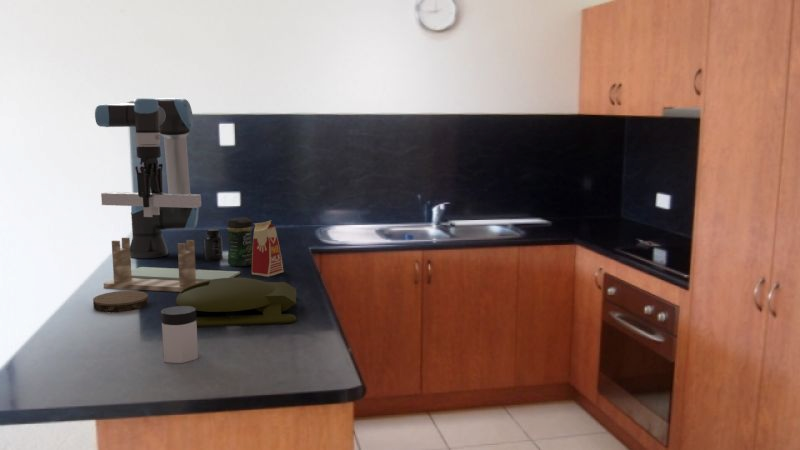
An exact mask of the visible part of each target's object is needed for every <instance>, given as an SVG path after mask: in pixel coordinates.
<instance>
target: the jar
mask: <svg viewBox="0 0 800 450" xmlns="http://www.w3.org/2000/svg"><path fill="white" fill-rule="evenodd" d="M196 318H197V311H196V309H195V308H194V307H191V306H179V305H176V306H170V307H167V308H163V309H162V310H161V311H160V319H161V321H160V322H161V333H162V355H163V362H164V363H167V364H168V363H171V364H172V363H173V364H185V363H188V362H191V361H195V360H198V359H199V350H198V346H199V345H198V327H197V322H196Z"/></svg>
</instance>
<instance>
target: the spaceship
mask: <svg viewBox="0 0 800 450" xmlns="http://www.w3.org/2000/svg"><path fill="white" fill-rule="evenodd" d="M199 282H200V283H197V284H194V285H192V286H190V287H188V288H186V289H184V290H183V291H182V292H179V293H178V295H177V296H176V299H175V303H176V305H177V306H191V307H194V308H195V309H196V312H197V311H199V312H209V313H210V312H213V313H222V312H223V313H224V312H225V313H226V312H227V313H228V312H240V311H249V310H254V309H255V310H256V311H257V312H260V313H262V314H250V315H249V314H248V315H219V316H218V315H217V316H214V315H213V316H198V317H197V316H196V322H197V328H198V327H200V328H202V327H203V328H205V327H206V328H207V327H230V326H231V327H232V326H233V327H234V326H235V327H236V326H258V325H259V326H261V325H284V324H285V325H286V323H289V324H293V323H294V322H296V320H297V316H296V315H295V314H292V313H282V312H285V311H287V310H289V309H291V307H293V306H294V305H296V304H297V288H296V287H293V286H292V285H290V284H289V283H287V282H286V281H279V282H277V281H276V282H275V281H273V282H271V281H270V282H269V281H264V280H261V279H255V278H249V277H233V278H219V279H212V280H207V281H199Z"/></svg>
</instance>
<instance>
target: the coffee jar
mask: <svg viewBox="0 0 800 450" xmlns="http://www.w3.org/2000/svg"><path fill="white" fill-rule="evenodd" d="M226 229H227V232H228V251H227V252H228V254H227V265H229V266H231V267H244V266H245V267H246V266H249V265H252V249H253V240H252V231H253V229H254V226H253V221H252V218H251V217H246V216H241V217H234V218H231V219H230V218H229V219H228V220H227V227H226Z"/></svg>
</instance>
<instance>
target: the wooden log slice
mask: <svg viewBox="0 0 800 450" xmlns="http://www.w3.org/2000/svg"><path fill="white" fill-rule="evenodd" d="M92 302H93V305H92V306H93V310H95V311H97V312H100V313H101V312H102V313H108V312H110V313H112V312H115V313H124V312H133V311H137V310H140V309H143V308H145V307H147V306H148V305H149V303H150V302H149V294H148V293H147V292H145V291H140V290H139V291H138V290H122V291H121V290H120V291H119V290H117V291H110V292H106V293H102V294H98V295H97V296H95V297H93V298H92Z"/></svg>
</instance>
